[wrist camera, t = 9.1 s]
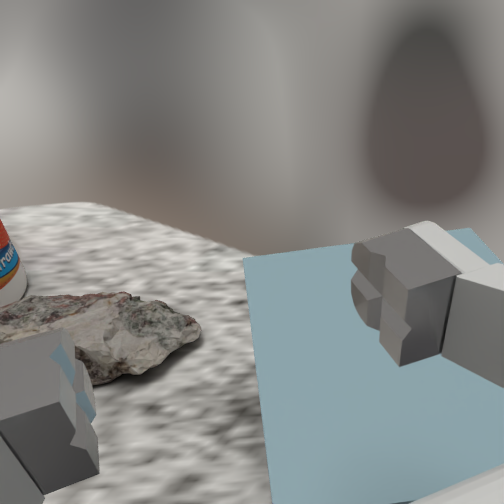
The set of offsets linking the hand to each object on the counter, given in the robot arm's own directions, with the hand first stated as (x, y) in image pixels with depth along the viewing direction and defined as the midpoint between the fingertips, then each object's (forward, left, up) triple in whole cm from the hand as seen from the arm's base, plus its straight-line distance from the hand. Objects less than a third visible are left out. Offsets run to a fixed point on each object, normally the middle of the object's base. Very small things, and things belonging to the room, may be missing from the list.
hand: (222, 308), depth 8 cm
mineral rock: (-11, +19, -20) cm, 29 cm away
